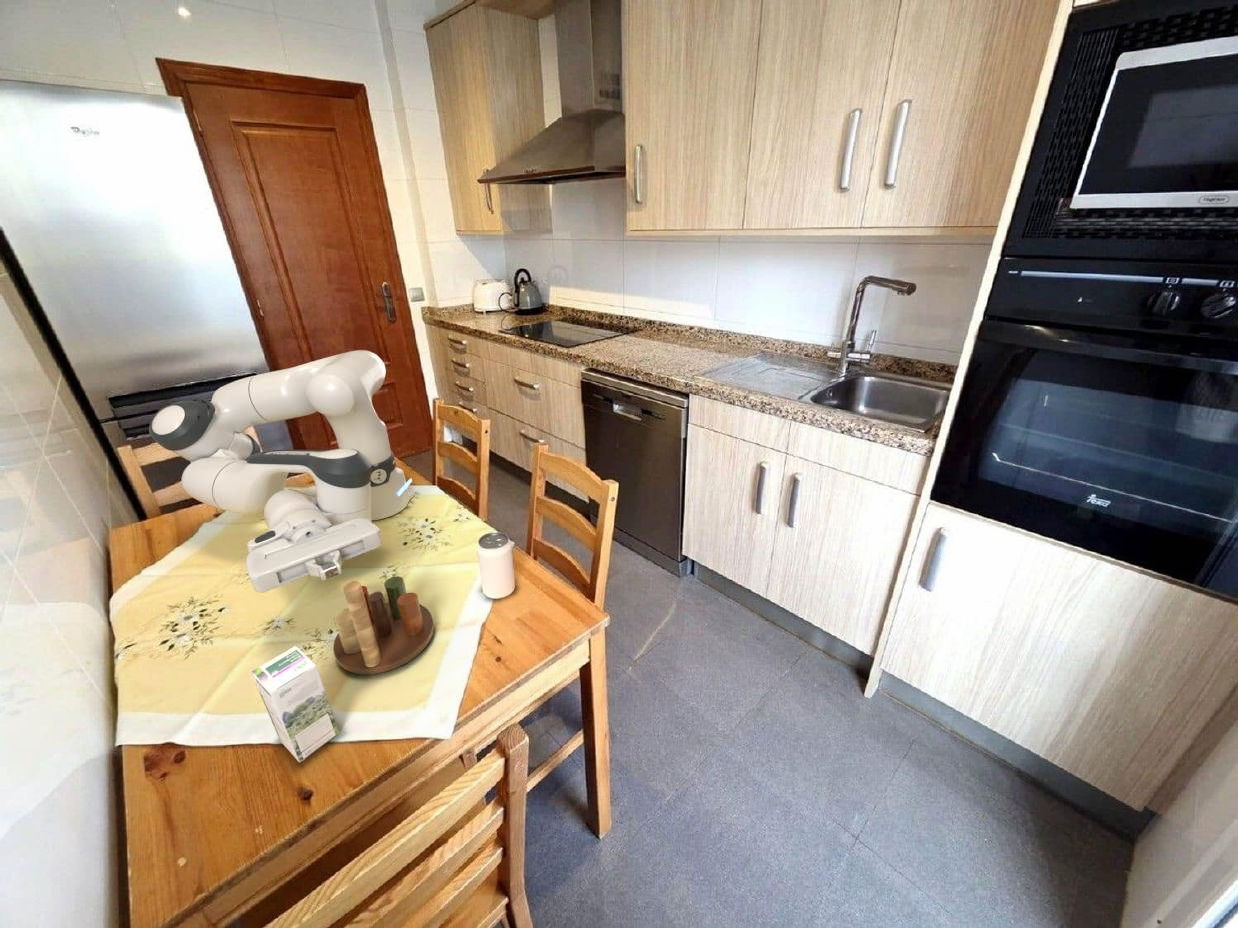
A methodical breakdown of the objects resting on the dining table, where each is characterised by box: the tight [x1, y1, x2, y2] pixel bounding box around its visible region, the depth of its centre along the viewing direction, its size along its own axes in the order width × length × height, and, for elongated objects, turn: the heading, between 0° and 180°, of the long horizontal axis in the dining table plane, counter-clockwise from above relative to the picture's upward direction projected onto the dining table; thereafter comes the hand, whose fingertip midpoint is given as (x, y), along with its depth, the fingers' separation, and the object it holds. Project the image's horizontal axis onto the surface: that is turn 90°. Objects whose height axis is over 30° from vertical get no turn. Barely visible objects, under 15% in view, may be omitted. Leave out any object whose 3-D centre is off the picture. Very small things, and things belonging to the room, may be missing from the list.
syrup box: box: [250, 645, 340, 763], centre depth 69 cm, size 6×6×14 cm
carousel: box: [332, 575, 435, 675], centre depth 85 cm, size 16×16×17 cm
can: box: [476, 531, 516, 600], centre depth 99 cm, size 6×6×12 cm
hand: (332, 573), depth 82 cm, fingers closed
